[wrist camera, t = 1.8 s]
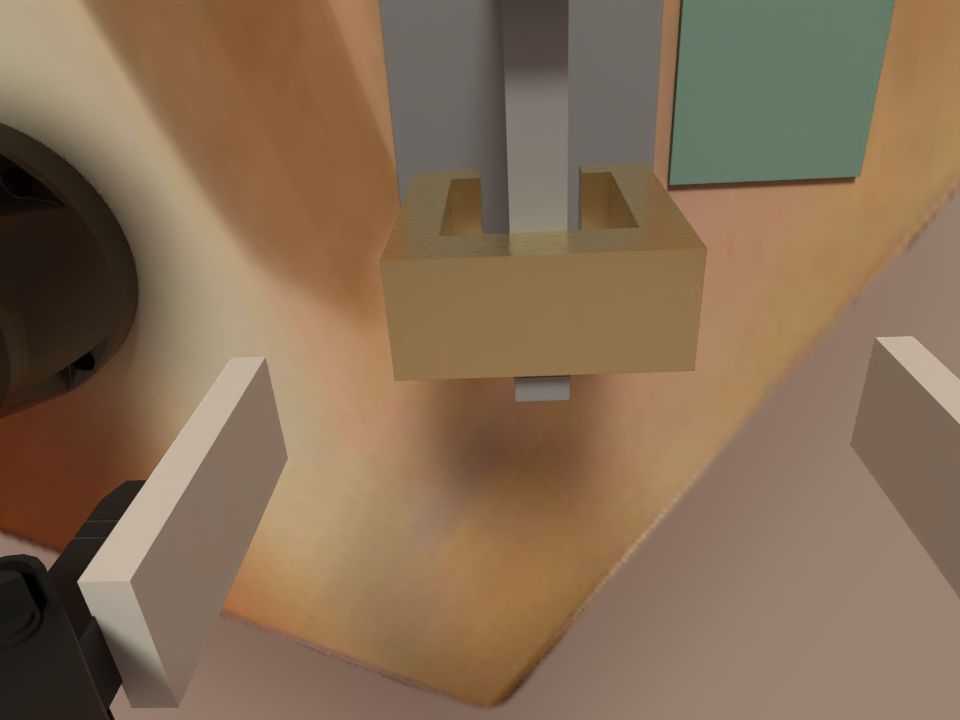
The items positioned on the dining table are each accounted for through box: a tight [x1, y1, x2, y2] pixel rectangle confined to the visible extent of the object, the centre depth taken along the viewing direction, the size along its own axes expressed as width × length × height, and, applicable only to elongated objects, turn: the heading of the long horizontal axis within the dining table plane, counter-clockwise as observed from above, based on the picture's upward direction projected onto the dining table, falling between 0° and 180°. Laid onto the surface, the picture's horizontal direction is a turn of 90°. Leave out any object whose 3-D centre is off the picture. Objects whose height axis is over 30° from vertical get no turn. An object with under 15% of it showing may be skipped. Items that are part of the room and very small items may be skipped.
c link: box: [380, 162, 707, 381], centre depth 24 cm, size 8×4×9 cm, turn 93°
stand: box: [379, 0, 664, 402], centre depth 25 cm, size 12×16×18 cm
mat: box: [668, 0, 895, 185], centre depth 33 cm, size 9×9×1 cm
